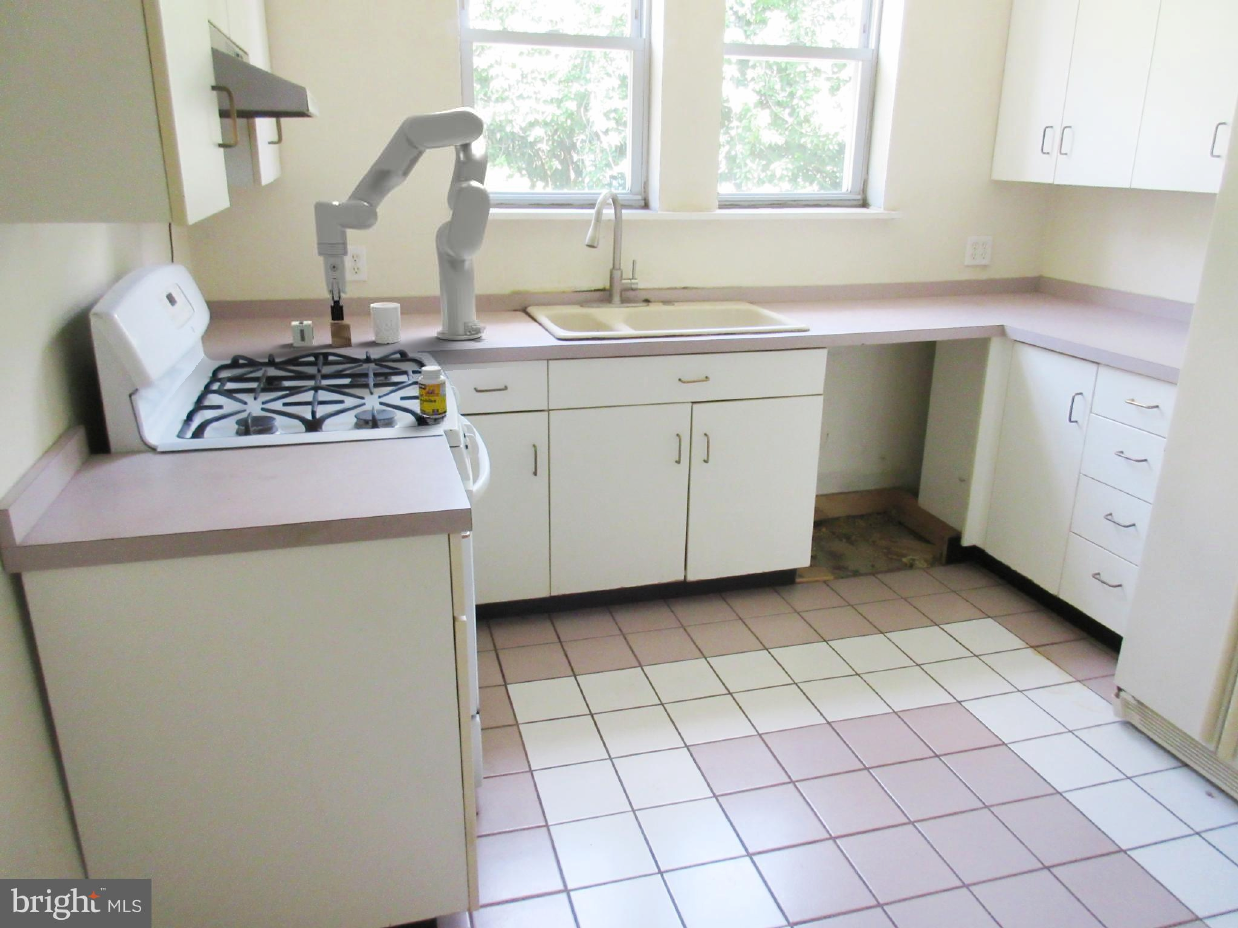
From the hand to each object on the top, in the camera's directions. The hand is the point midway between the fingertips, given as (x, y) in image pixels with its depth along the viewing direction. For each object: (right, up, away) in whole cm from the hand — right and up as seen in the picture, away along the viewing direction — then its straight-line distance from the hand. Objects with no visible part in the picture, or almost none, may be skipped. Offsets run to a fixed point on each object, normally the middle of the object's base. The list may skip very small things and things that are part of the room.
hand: (337, 320), depth 240 cm
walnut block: (0, -6, +2) cm, 7 cm away
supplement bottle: (+38, -29, -59) cm, 76 cm away
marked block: (-10, -6, +3) cm, 12 cm away
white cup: (+11, -5, +7) cm, 14 cm away
